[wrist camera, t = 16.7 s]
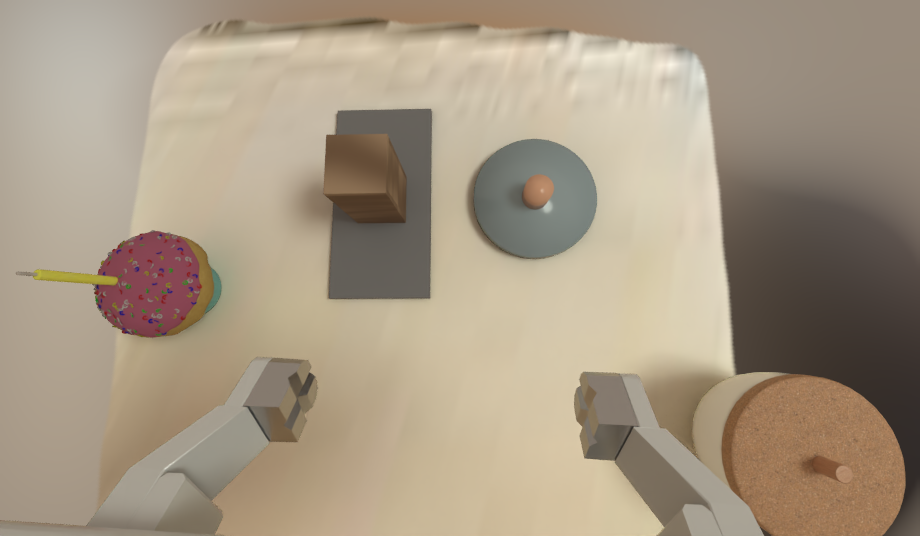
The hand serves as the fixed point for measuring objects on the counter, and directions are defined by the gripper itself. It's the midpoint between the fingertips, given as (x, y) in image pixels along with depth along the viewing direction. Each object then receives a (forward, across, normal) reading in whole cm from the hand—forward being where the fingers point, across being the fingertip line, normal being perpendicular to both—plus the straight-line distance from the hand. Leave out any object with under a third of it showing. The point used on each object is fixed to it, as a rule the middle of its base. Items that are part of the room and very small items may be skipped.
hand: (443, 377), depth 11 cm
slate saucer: (+24, -6, +6) cm, 26 cm away
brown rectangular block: (+24, +8, +6) cm, 26 cm away
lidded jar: (+11, -23, +20) cm, 32 cm away
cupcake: (+18, +25, +13) cm, 33 cm away
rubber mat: (+24, +8, +7) cm, 26 cm away
